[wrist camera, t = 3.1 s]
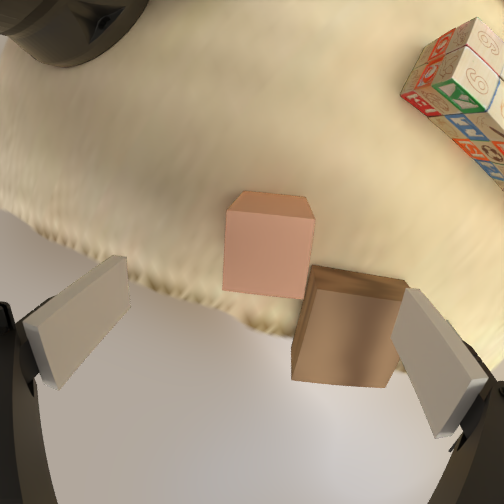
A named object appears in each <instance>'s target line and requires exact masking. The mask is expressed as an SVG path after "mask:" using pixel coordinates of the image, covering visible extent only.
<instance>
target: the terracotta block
mask: <svg viewBox="0 0 504 504" xmlns="http://www.w3.org/2000/svg"><path fill="white" fill-rule="evenodd" d="M314 227H315V217H314V215H313V213H312V210H311V208H310V206H309V204H308V202H307V199H306V197H300V196H291V195H282V194H272V193H262V192H252V191H243V192H242V194H241V195H240V196H239V197H238V198H237V199H236V200H235V201H234V202H233V204H232V205H231V206H230V207H229V208H228V209H227V211H226V228H225V246H224V265H223V286H222V290H224V291H232V292H240V293H249V294H257V295H266V296H276V297H285V298H295V299H303V298H304V293H305V287H306V280H307V274H308V268H309V261H310V255H311V248H312V241H313V234H314Z"/></svg>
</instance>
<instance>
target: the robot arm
mask: <svg viewBox="0 0 504 504" xmlns="http://www.w3.org/2000/svg"><path fill="white" fill-rule="evenodd" d="M147 2H148V0H0V34H2V35H5V36H8V37H10V38H11V39H12V40H13V41H14V42H16V43H17V44H18V45H19V46H20V47H21V48H23V49H24V50H25V51H26V52H28V53H29V54H30V55H31V56H32V57H33V58H34V59H36V60H37V61H39V62H42V63H45V64H49V65H53V66H58V67H70V66H75V65H79V64H82V63H84V62H87V61H89V60H91V59H93V58H95V57H97V56H98V55H100V54H101V53H103V52H104V51H106V50H107V49H108V48H110V47H111V46H112V45H113V44H115V43H116V42H117V41H118V40H119V39H120V38H121V37H122V36H123V35H124V34H125V33H126V32H127V31H128V30H129V29H130V28H131V26H132V25H133V24H134V23H135V22H136V20H137V19H138V17H139V16H140V15H141V13H142V11H143V10H144V8H145V6H146V4H147ZM130 308H131V305H130V295H129V284H128V271H127V257H124V256H117V255H112V256H111V257H109V258H108V259H106V260H105V261H104V262H102V263H101V264H99V265H98V266H96V267H95V268H93V269H92V270H91V271H89V272H88V273H86V274H85V275H84V276H82V277H81V278H80V279H78V280H77V281H75V282H74V283H72V284H71V285H70V286H68V287H67V288H66V289H64V290H63V291H62V292H60V293H59V294H58V295H56V296H53V297H51V298H48V299H47V300H46V301H44V302H43V303H41V304H40V306H38V307H36V308H35V309H34V310H32V311H31V312H30V313H28V314H27V315H26V316H25V317H23V318H22V319H21V320H19V321H18V322H17V323H16V324H15V322H14V318H13V314H12V311H11V307H10V305H9V304H8V303H6V302H0V504H58V503H57V499H56V496H55V492H54V489H53V485H52V481H51V477H50V472H49V468H48V463H47V458H46V453H45V447H44V442H43V436H42V429H41V421H40V413H39V404H38V393H37V384H36V381H35V379H34V377H35V376H36V375H37V374H38V373H40V375H41V378H42V380H43V383H44V385H47V386H49V387H51V388H53V389H56V390H58V391H59V390H60V389H61V388H62V387H63V385H64V384H65V383H66V382H67V381H68V379H69V378H70V377H71V376H72V374H73V373H74V372H75V371H76V370H77V369H78V367H79V366H80V365H81V364H82V363H83V362H84V360H85V359H86V358H87V357H88V356H89V354H90V353H91V352H92V351H93V350H94V349H95V347H96V346H97V345H98V344H99V343H100V342H101V341H102V339H103V338H104V337H105V336H106V335H107V334H108V333H109V331H110V330H111V329H112V328H113V327H114V326H115V325H116V324H117V322H118V321H119V320H120V319H121V318H122V317H123V316H124V314H125V313H126V312H127V311H128V310H129V309H130ZM391 340H392V342H393V344H394V346H395V348H396V350H397V352H398V354H399V357H400V359H401V361H402V363H403V365H404V367H405V369H406V372H407V374H408V376H409V378H410V380H411V383H412V385H413V387H414V389H415V392H416V394H417V396H418V399H419V401H420V403H421V406H422V408H423V410H424V413H425V415H426V417H427V420H428V423H429V425H430V427H431V430H432V433H433V435H434V438H435V439H436V438H443V437H448V436H452V435H453V433H454V432H455V430H456V429H457V428H458V426H459V425H460V426H461V428H462V430H463V433H462V434H461V435H460V437H459V438H458V439H457V441H456V442H455V443H454V444H453V446H452V447H451V448H450V450H449V452H451V451H452V450H453V449H454V450H453V453H452V455H451V457H450V460H449V462H448V464H447V466H446V469H445V471H444V473H443V475H442V477H441V479H440V481H439V483H438V485H437V487H436V489H435V491H434V493H433V495H432V497H431V499H430V500H429V502H428V504H504V381H498V382H497V380H496V379H495V378H494V376H493V375H492V373H491V372H490V371H489V369H488V368H487V367H486V365H485V364H484V363H482V360H481V358H480V357H479V356H478V354H477V353H476V352H475V351H474V349H473V348H472V347H471V346H470V345H468V344H467V343H466V342H465V341H463V340H461V339H460V338H459V337H458V335H457V334H456V333H455V331H454V330H453V329H452V328H451V326H450V325H449V324H448V323H447V321H446V320H445V319H444V318H443V316H442V315H441V314H440V313H439V312H438V310H437V309H436V308H435V307H434V305H433V304H432V303H431V302H430V301H429V300H428V298H427V297H426V296H425V295H424V294H423V292H422V291H421V290H420V289H414V288H406V289H405V293H404V296H403V300H402V303H401V306H400V310H399V313H398V316H397V319H396V322H395V326H394V329H393V332H392V335H391Z"/></svg>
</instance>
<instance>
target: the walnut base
mask: <svg viewBox="0 0 504 504" xmlns="http://www.w3.org/2000/svg"><path fill="white" fill-rule="evenodd" d="M406 288H410V287H409V286H408V284H407V283H406V282H405V281H404V280H400V279H394V278H388V277H382V276H376V275H370V274H364V273H358V272H352V271H346V270H340V269H334V268H328V267H322V266H316V265H312V266H311V271H310V275H309V279H308V284H307V288H306V292H305V296H304V300H303V304H302V308H301V312H300V316H299V320H298V324H297V328H296V332H295V336H294V339H293V341H292V345H291V379H292V380H295V381H302V382H312V383H321V384H331V385H343V386H357V387H375V388H385V387H386V385H387V383H388V381H389V379H390V378H391V376H392V374H393V372H394V370H395V368H396V366H397V364H398V362H399V359H400V357H399V354H398V352H397V350H396V348H395V346H394V344H393V342H392V340H391V335H392V332H393V329H394V326H395V322H396V319H397V316H398V313H399V310H400V306H401V303H402V300H403V296H404V293H405V289H406Z"/></svg>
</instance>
